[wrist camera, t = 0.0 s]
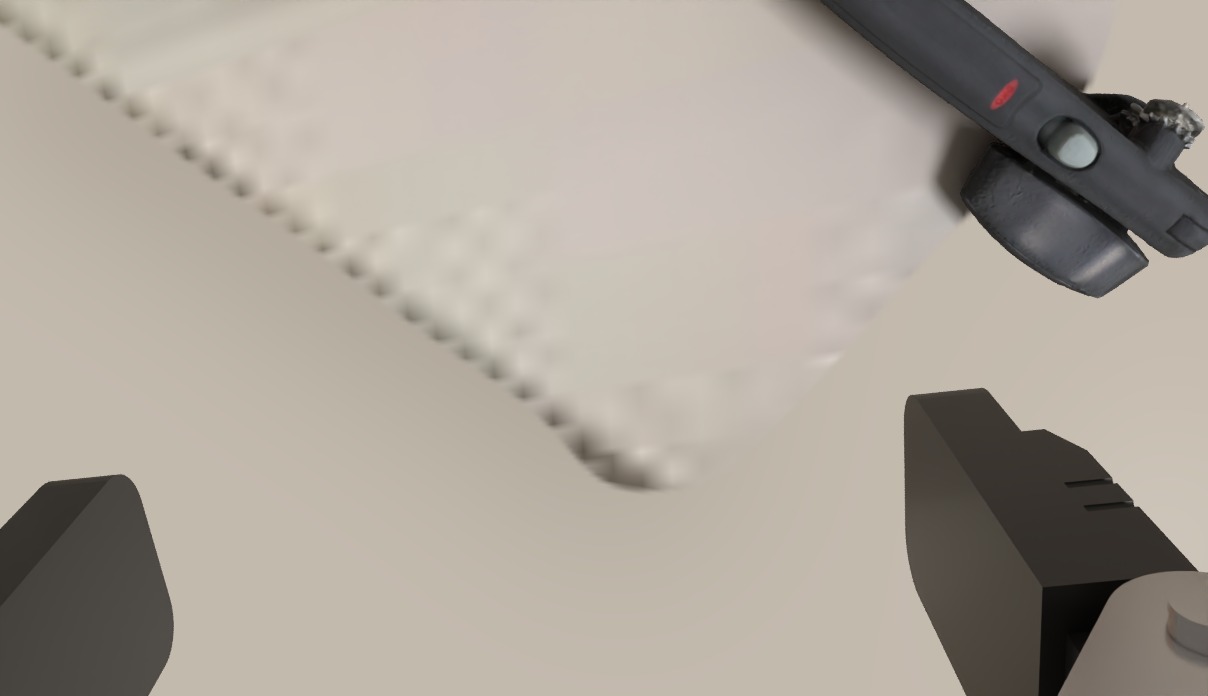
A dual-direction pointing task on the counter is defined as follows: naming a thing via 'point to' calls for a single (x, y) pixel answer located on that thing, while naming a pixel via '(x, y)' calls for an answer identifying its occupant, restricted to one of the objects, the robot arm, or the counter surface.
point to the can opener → (1049, 147)
